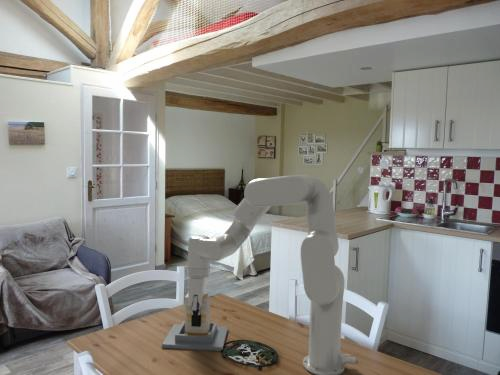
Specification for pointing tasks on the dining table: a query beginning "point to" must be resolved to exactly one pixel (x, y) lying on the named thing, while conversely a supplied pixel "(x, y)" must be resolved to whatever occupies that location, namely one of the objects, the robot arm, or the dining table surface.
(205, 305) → the supplement box
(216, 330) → the cradle board
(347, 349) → the dining table surface
